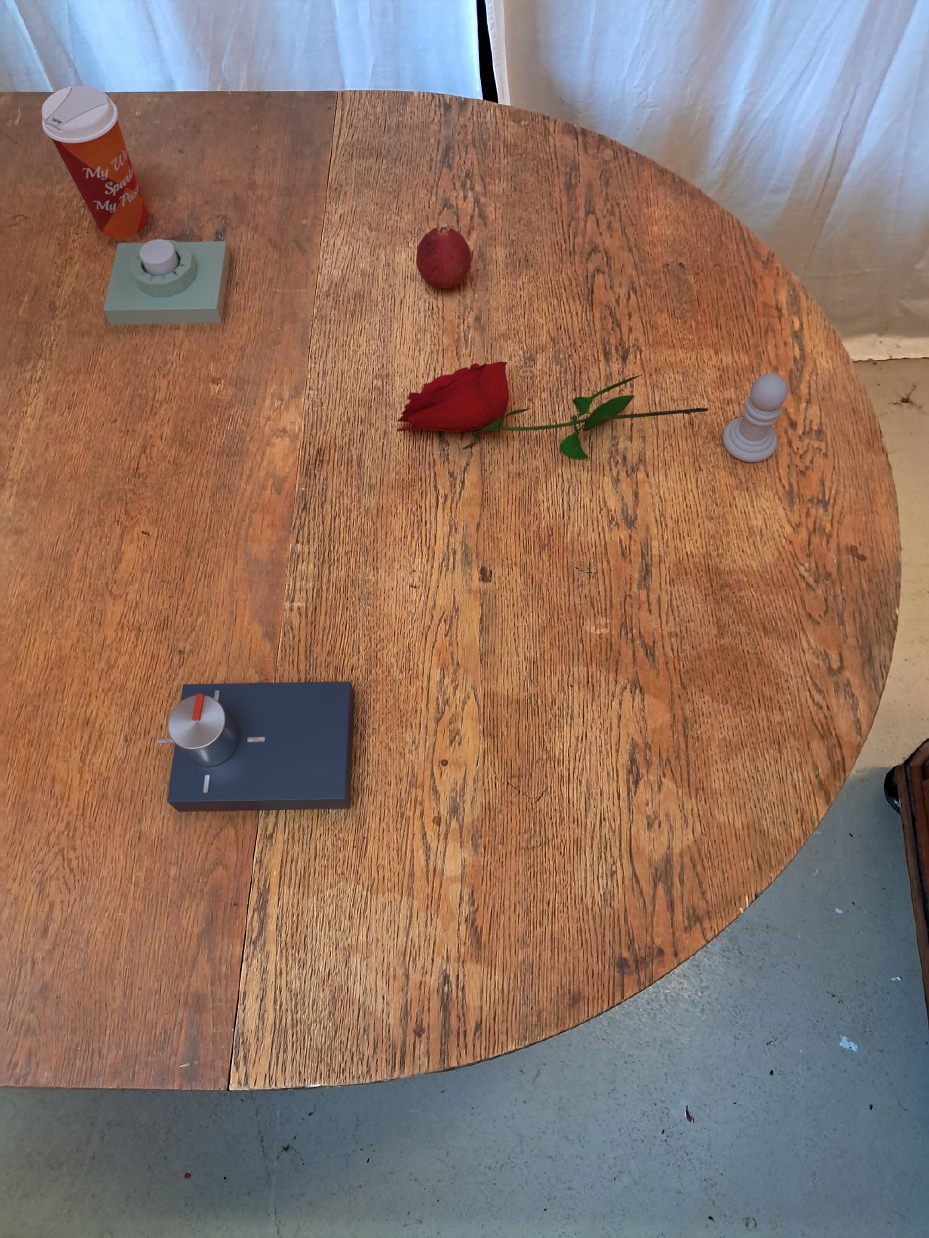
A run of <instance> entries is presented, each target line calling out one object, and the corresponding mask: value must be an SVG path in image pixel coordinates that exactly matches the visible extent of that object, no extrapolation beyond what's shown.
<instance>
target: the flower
mask: <svg viewBox="0 0 929 1238" xmlns="http://www.w3.org/2000/svg"><path fill="white" fill-rule="evenodd" d="M508 363H509V362H508V361H497V362H492V363H488V364H487V363H484V364H482V365H480V364H479V363H477V362H475V363H473V364H471V365H470V367H468V366H467V367H462V368H459V369H456V370H455V371H454V372H453V373H449V374H442V375H438V376H437V377H435V378H434V379H432V381H430V382H427V383H423V384H422V390H421V391H420V392H414V391H413V392H409V393H408V396H407V397H406V399H407V400H409V402H408V403H405V404H404V406H403V408H404V410H403V411H402V412H400V415H401V416H400V417H399V418H398V419H397V420H396V422H398V423H399V422H400V423H409V424H410V425H411V426H406V427H399V428H397V429H396V431H397V432H407V431H413V430H414V431H415V430H416V431H417V430H423V431H434V432H435V431H436V432H446V433H452V432H453V433H455V432H456V433H457V432H459V433H460V432H461V433H462V432H468V431H470V432H471V431H476V430H478V431H477V432H475V433H473V435H472V436H471V439H472V440H473V442H471V443H470V444H468V445H466V446H464V447H463V448H462V450H465V449H467V448H470V447H471V446H474V445H475V444H476V443H478V440H479V437H480V435H481V433H483V432H485V431H487V430H489V431H493V433H496V434H497V433H498V430H502V431H503V430H504V431H511V432H513V431H516V432H518V431H519V432H526V431H527V432H529V431H536V432H537V431H542V430H551V429H560V428H565V427H571V426H573V431H574V433H571V434H570V435H568V436H566V437H565V438H564V439H563V440H562V441H561V443H560V445H559V450H560V452H561V453H562V454H563V455H564V456H565V457H568V458H570V459H575V460H581V459H583V460H584V459H588V458H590V457H589V456H588V455H587V454H586V452H585V451H584V449H583V448H582V444H581V440H580V435H581V432H584V433H585V432H588V431H590V430H593V429H595V428H597V427H599V426H601V425H603V424H605V423H606V422H608V421H610V420H621V419H636V418H637V419H639V418H646V417H647V418H648V417H649V418H650V417H658V416H668V415H679V414H685V415H687V416H691V413H705V412H709V408H708V407H696V408H686V409H673V410H663V411H652V412H643V413H636V412H635V413H628V414H620V413H622V412H623V411H624V410H625V408H626V407H627V406H629V404H630V403H631V402H632V400H634V398H635V395H633V394H632V395H630V394H629V395H628V394H627V395H620V396H616V397H614V398H610V399H609V400H607V401H605V402H603V403H601V404H600V405H598V406H597V407H596V408H595V409H594V410H592V412H589V410H590V407H591V405H592V403H593V401H594V400H595V398H597V397H599V396H600V395H603V394H605V393H607V392H609V391H611V390H613V389H616V388H618V387H620V386H623V385H624V384H628V383H630V382H632V381H633V380H635V379H638V378H639V377H641V376H644V373H643V374H639V375H635V376H631V377H629V378H626V379H624V380H621V381H619V382H615V383H613V384H611V385H609V386H607V387H605V388H603V389H601V390H599V391H597V392H595V393H594V394H592V395H590V396H588V397H586V396H576V397H574V398H573V399H572V402H573V404H574V406H575V407H576V409H577V410H578V411H577V412H578V413H577V414H576V415H575V414H574V415H572V417H571V421H568V422H562V423H556V424H547V425H536V426H508V425H504V422H503V421H504V420H505V419H506V418H507V417H509V416H513V415H517V414H522V413H524V412H527V411H528V410H530V409H531V407H528V408H520V409H515V410H512V411H510V412H508V413H507V407H508V406H509V401H510V400H509V399H510V391H509V390H510V389H509V385H508V377H507V373H506V372H507V371H506V366H507V365H508ZM586 414H587V415H588V414H589V416H588V417H586V418H582V419H578V418H580V417H582V416H584V415H586ZM580 424H582V425H581V427H580V428H578V426H577V425H580ZM580 431H581V432H580Z"/></svg>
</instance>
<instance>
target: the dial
mask: <svg viewBox="0 0 929 1238" xmlns="http://www.w3.org/2000/svg"><path fill="white" fill-rule="evenodd" d="M167 732H168V735H169V738H170V739H172V740H173V742H174V743H173V744H174V745H175V744H176V745H177V746H178V747H179V748H180V749H181V750H182V751H183V752H184V753H185V754H186V755H187V756H188V757H189V759H190V760H191V761H193V762H194V763H196V764H198V765H201V766H215V765H219V764H221V763H223V762H225V761H226V760H227V759H229V758H230V757H231V756H232V754H233V753H234V752H235V750H236V748H237V745H238V741H239V733H238V729H237V727H236V725H235V724H234V722H233V721H232V719H231V718H230V717H229V715H228V714H227V712H226V711H225V710H224V708H223V707H222V705H221V704H220V703H219V702H218V701H217V700H216V699H214V698H212V697H209V696H206V695H204V694H196V695H195V696H191V697H188V698H186V699H184V700H182V701H181V700H180V702H178V703H177V704H176V705H175V706H174V708H173V709H172V710H171V712H170V714H169V716H168V720H167Z"/></svg>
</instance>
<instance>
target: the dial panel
mask: <svg viewBox="0 0 929 1238" xmlns="http://www.w3.org/2000/svg"><path fill="white" fill-rule="evenodd" d="M351 682H352V681H350V680H347V681H343V680H342V681H291V682H290V681H289V682H284V681H283V682H238V683H237V682H232V683H227V682H226V683H183V684H182V688H181V695H180V702H181V701H182V700H184V699H186V698H188V697H191V696H195V695H196V694H204V695H206V696H209V697H212V698H214V699H216V700H217V701H218V702H219V703H220V704H221V705H222V707H223V708H224V710H225V711H226V712H227V714H228V715H229V717H230V718H231V719H232V721H233V722H234V724H235V725H236V727H237V729H238V733H239V741H238V745H237V748H236V750H235V752H234V753H233V754H232V756H231V757H230V758H229V759H227V760H226V761H225V762H223V763H221V764H219V765H215V766H201V765H198V764H196V763H194V762H193V761H191V760H190V759H189V757H188V756H187V755H186V754H185V753H184V752H183V751H182V750H181V749H180V748H179V747H178V746H177V745H176V744H175V743H174V742H173V740H172V739H171V738H158V740H157V743H158V745H159V744H174V748H173V755H172V762H171V763H172V764H171V769H170V770H171V771H170V776H169V785H168V791H167V792H168V793H167V804H169V805H170V806H171V807H172V808H173V809H175V810H176V811H177V812H179V813H181V812H182V813H183V812H233V811H235V812H237V811H289V810H291V811H292V810H293V811H295V810H296V811H297V810H347V809H350V808H351V791H352V769H353V768H352V767H353V766H352V765H353V741H354V723H355V722H354V721H355V696H356V693H355V691H354V689H353V686H352V683H351Z"/></svg>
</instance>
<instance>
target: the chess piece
mask: <svg viewBox="0 0 929 1238" xmlns="http://www.w3.org/2000/svg"><path fill="white" fill-rule="evenodd" d="M788 394H789V385H788V382H787V381H786V380H785V379H784V378H783V376H781V375H780V374H777V373H773V372H768V373H764V374H762V375H760V376H759V377H757V378H756V379H755V381H754V382H753V383H752V385H751V388H750V391H749V395H748V396H747V398H746V401H745V403H744V404H743V408H742V413H743V416H738V417H736V418H733V419H732V420H730V421H729V422H728V423H727V424H726V425H725V427H724V429H723V431H722V443H723V446H724V448H725V450H726V451H727V453H729V454H730V455H731V456H732V457H734V458H735V459H737V460H740V461H742V462H746V463H759V462H762V461H766V460H767V459H768V458H770V457H771V456H772V455H773V454H775V452H776V450H777V448H778V435H777V432H776V431H775V429H774V427H773V426H772V425H773V424H775V423H776V422H777V421H778V419H779V417H780V415H781V413H782V409H783V404H784V403H785V401H786V400H787V398H788Z"/></svg>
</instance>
